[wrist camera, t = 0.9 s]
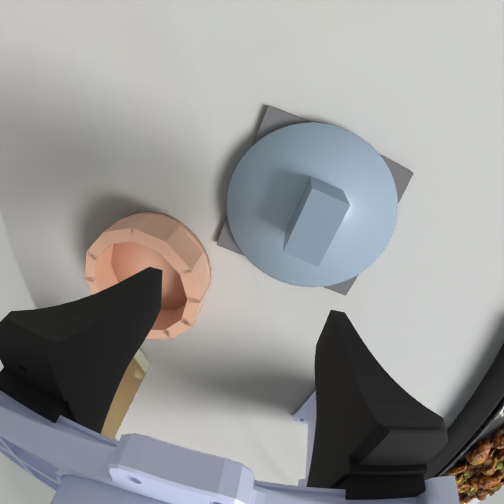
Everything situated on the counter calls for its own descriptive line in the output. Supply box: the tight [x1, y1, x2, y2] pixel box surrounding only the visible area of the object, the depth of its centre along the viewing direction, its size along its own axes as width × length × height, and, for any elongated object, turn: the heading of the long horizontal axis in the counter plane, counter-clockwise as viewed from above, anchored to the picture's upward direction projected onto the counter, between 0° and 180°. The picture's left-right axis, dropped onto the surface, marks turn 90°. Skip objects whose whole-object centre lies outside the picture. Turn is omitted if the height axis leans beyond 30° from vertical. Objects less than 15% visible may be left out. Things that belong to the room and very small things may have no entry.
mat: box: [217, 106, 413, 296], centre depth 20 cm, size 10×10×1 cm
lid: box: [227, 122, 398, 287], centre depth 19 cm, size 11×11×4 cm
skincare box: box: [101, 348, 150, 440], centre depth 24 cm, size 6×4×12 cm
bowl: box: [85, 212, 211, 339], centre depth 23 cm, size 9×9×3 cm
